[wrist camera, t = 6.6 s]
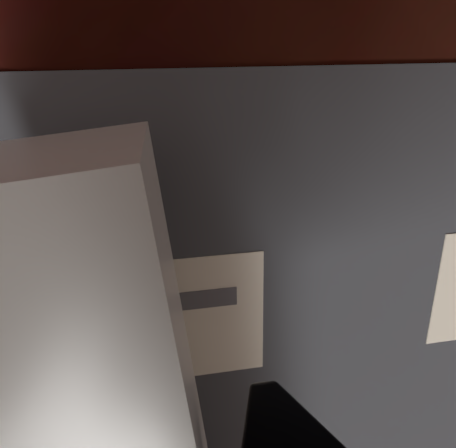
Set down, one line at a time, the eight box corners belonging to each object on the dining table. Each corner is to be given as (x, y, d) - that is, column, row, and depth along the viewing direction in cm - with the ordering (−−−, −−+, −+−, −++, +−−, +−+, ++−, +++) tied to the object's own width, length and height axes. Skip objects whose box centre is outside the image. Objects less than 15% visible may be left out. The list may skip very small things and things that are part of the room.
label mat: (724, 57, 10) (737, 57, 10) (574, 450, 15) (581, 456, 15) (-129, 74, 7) (-139, 74, 7) (23, 558, 12) (20, 568, 12)
